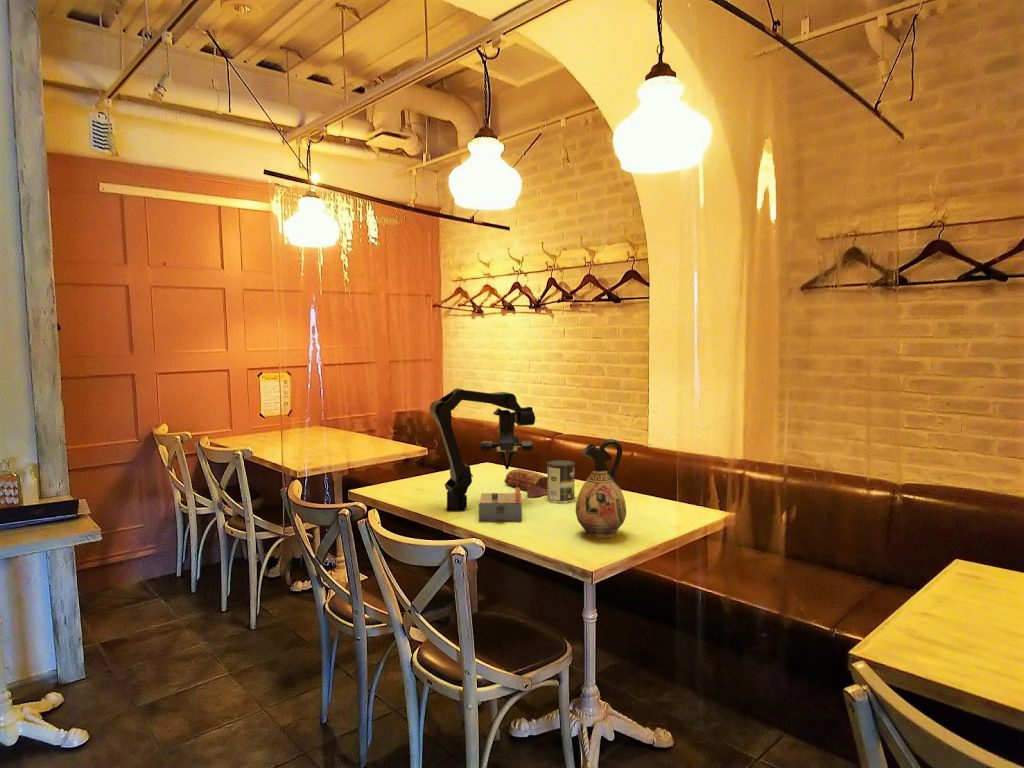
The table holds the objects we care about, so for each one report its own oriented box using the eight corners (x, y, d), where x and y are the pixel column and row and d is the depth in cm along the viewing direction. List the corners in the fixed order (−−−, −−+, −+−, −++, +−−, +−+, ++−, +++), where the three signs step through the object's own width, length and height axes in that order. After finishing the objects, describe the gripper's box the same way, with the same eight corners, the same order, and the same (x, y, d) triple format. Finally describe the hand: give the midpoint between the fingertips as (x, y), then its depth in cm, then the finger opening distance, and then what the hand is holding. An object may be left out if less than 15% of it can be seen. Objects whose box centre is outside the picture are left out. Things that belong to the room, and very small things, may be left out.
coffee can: (576, 496, 243) (576, 460, 242) (573, 504, 233) (573, 465, 232) (549, 495, 245) (549, 459, 244) (545, 502, 235) (545, 464, 234)
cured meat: (533, 500, 240) (533, 481, 239) (495, 487, 260) (495, 470, 260) (569, 493, 250) (570, 476, 250) (530, 482, 271) (531, 466, 270)
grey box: (478, 524, 209) (478, 506, 208) (481, 508, 228) (481, 491, 227) (521, 523, 209) (521, 505, 208) (521, 508, 228) (521, 491, 227)
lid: (479, 505, 212) (479, 495, 212) (481, 496, 224) (481, 486, 223) (521, 505, 212) (521, 495, 212) (520, 496, 224) (520, 486, 223)
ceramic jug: (576, 542, 190) (577, 442, 188) (574, 527, 205) (574, 434, 203) (634, 543, 189) (635, 442, 187) (627, 527, 204) (628, 434, 202)
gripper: (480, 430, 225) (480, 474, 226) (533, 430, 225) (533, 473, 226) (481, 425, 236) (482, 467, 237) (532, 425, 236) (532, 467, 237)
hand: (507, 469), depth 234 cm, fingers closed
